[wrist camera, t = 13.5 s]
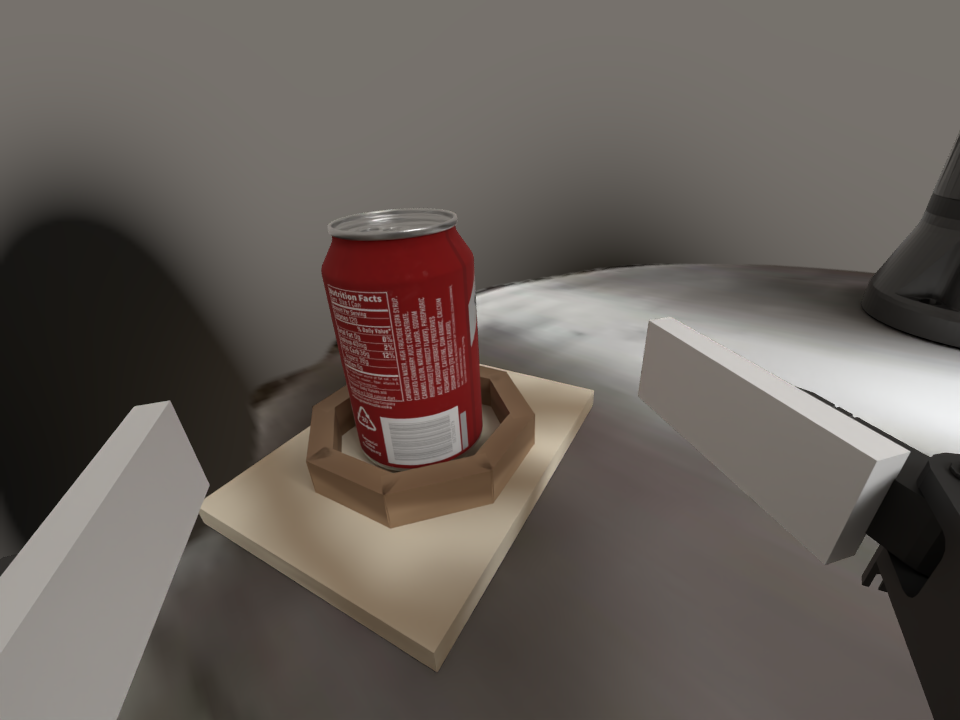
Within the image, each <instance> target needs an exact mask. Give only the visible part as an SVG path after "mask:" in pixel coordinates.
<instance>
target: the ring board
mask: <svg viewBox="0 0 960 720" xmlns="http://www.w3.org/2000/svg"><path fill="white" fill-rule="evenodd" d="M479 366H480V384H481V402H482V420H483V430H482V434H481V437H480V439H479V441H478V442H477V444H476V445H475V446H474V448H473V449H472V450H471V451H470V452H468V453H467V454H466V455H465V456H463V457H462V458H460V459H456V460H452V461H447V462H443V463H438V464H434V465H429V466H424V467H420V468H415V469H411V470H406V471H395V470H390V469H387V468H384V467H381V466H379V465H377V464H375V463H374V462H372V461H371V460H370V459H369V458H368V457H367V456H366V455H365V454H364V452H363V451H362V449H361V445H360V441H359V437H358V433H357V428H356V424H355V419H354V415H353V410H352V406H351V401H350V397H349V393H348V388H347V385H345V386H344V387H342V388H341V389H339V390H338V391H336V392H335V393H333V394H331V395H330V396H328V397H327V398H325V399H324V400H322V401H321V402H319V403H318V404H316V405H315V406H313V410H312V417H311V425H310V426H309V427H308V428H306V429H305V430H304V431H302V432H301V433H299V434H298V435H296V436H295V437H293V438H292V439H291V440H289V441H288V442H286V443H285V444H283V445H282V446H280V447H279V448H277V449H276V450H275V451H273V452H272V453H270V454H269V455H267V456H266V457H264V458H263V459H262V460H260V461H259V462H257V463H256V464H254V465H253V466H251V467H250V468H249V469H247V470H246V471H244V472H243V473H241V474H240V475H238V476H237V477H236V478H234V479H233V480H231V481H230V482H229V483H227V484H225V485H224V486H223V487H221V488H220V489H218V490H217V491H215V492H214V493H212V494H211V495H210V496H208V497H207V498H205V499H204V501H203V503H202V506H201V508H200V511H199V514H200V516H201V518H202V520H203V522H204V523H205V524H206V525H208V526H210V527H211V528H213V529H214V530H216V531H217V532H219V533H220V534H222V535H224V536H225V537H227V538H228V539H230V540H231V541H233V542H234V543H236V544H238V545H239V546H241V547H242V548H244V549H245V550H247V551H249V552H250V553H252V554H253V555H255V556H256V557H258V558H259V559H261V560H263V561H264V562H266V563H267V564H269V565H270V566H272V567H273V568H275V569H277V570H278V571H280V572H281V573H283V574H284V575H286V576H287V577H289V578H291V579H292V580H294V581H295V582H297V583H298V584H300V585H302V586H303V587H305V588H306V589H308V590H309V591H311V592H312V593H314V594H316V595H317V596H319V597H320V598H322V599H323V600H325V601H326V602H328V603H330V604H331V605H333V606H334V607H336V608H337V609H339V610H341V611H342V612H344V613H345V614H347V615H348V616H350V617H351V618H353V619H355V620H356V621H358V622H359V623H361V624H362V625H364V626H365V627H367V628H369V629H370V630H372V631H373V632H375V633H376V634H378V635H379V636H381V637H383V638H384V639H386V640H387V641H389V642H390V643H392V644H394V645H395V646H397V647H398V648H400V649H401V650H403V651H404V652H406V653H408V654H409V655H411V656H412V657H414V658H415V659H417V660H418V661H420V662H422V663H423V664H425V665H426V666H428V667H429V668H431V669H433V670H434V671H436V672H438V670H439V669H440V667H441V665H442V664H443V662H444V660H445V658H446V657H447V655H448V653H449V652H450V650H451V648H452V646H453V645H454V643H455V641H456V640H457V638H458V636H459V634H460V633H461V631H462V629H463V628H464V626H465V624H466V622H467V621H468V619H469V617H470V616H471V614H472V612H473V610H474V609H475V607H476V605H477V604H478V602H479V600H480V598H481V597H482V595H483V593H484V592H485V590H486V588H487V586H488V585H489V583H490V581H491V579H492V578H493V576H494V574H495V573H496V571H497V569H498V567H499V566H500V564H501V562H502V561H503V559H504V557H505V555H506V554H507V552H508V550H509V549H510V547H511V545H512V543H513V542H514V540H515V538H516V537H517V535H518V533H519V531H520V530H521V528H522V526H523V525H524V523H525V521H526V519H527V518H528V516H529V514H530V513H531V511H532V509H533V507H534V506H535V504H536V502H537V500H538V499H539V497H540V495H541V494H542V492H543V490H544V488H545V487H546V485H547V483H548V482H549V480H550V478H551V476H552V475H553V473H554V471H555V470H556V468H557V466H558V464H559V463H560V461H561V459H562V458H563V456H564V454H565V452H566V451H567V449H568V447H569V446H570V444H571V442H572V440H573V439H574V437H575V435H576V434H577V432H578V430H579V428H580V427H581V425H582V423H583V421H584V420H585V418H586V416H587V415H588V413H589V411H590V409H591V408H592V406H593V396H594V390H590V389H586V388H581V387H577V386H573V385H568V384H564V383H560V382H555V381H551V380H547V379H543V378H538V377H534V376H530V375H525V374H521V373H517V372H512V371H508V370H504V369H499V368H495V367H491V366H486V365H482V364H479Z"/></svg>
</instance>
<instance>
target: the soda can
mask: <svg viewBox="0 0 960 720" xmlns="http://www.w3.org/2000/svg"><path fill="white" fill-rule="evenodd" d="M456 224H457V215H456V214H455V213H453V212H450V211H447V210H440V209H425V208H418V209H417V208H413V209H412V208H411V209H392V210H382V211H373V212H366V213H360V214H355V215H351V216H347V217H343V218H339V219H336V220H334V221H332V222H330V223H329V224H328V231H329V234H330V235H331V236H332V243H331V246H330V248H329V250H328V253H327V255H326V258H325V260H324V262H323V265H322V270H321V271H322V277H323V281H324V286H325V290H326V294H327V299H328V303H329V308H330V312H331V317H332V321H333V326H334V330H335V335H336V339H337V344H338V348H339V353H340V357H341V361H342V366H343V370H344V375H345V379H346V384H347V388H348V393H349V397H350V401H351V406H352V410H353V415H354V419H355V424H356V428H357V433H358V437H359V441H360V445H361V449H362V451H363V452H364V454H365V455H366V456H367V457H368V458H369V459H370V460H371V461H372V462H374V463H375V464H377V465H379V466H381V467H384V468H387V469H390V470H395V471H406V470H411V469H415V468H420V467H424V466H429V465H434V464H438V463H443V462H447V461H452V460H456V459H460V458H462V457H463V456H465V455H466V454H467V453H468V452H470V451H471V450H472V449H473V448H474V446H475V445H476V444H477V442H478V441H479V439H480V437H481V434H482V430H483V420H482V402H481V384H480V366H479V347H478V329H477V311H476V293H475V274H474V257H473V254H472V252H471V250H470V249H469V247H468V246H467V245H466V243H465V242H464V240H463V239H462V238H461V236H460V235H459V233H458V232H457V230H456V227H455V225H456Z"/></svg>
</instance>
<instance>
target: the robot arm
mask: <svg viewBox="0 0 960 720" xmlns="http://www.w3.org/2000/svg"><path fill="white" fill-rule="evenodd" d="M861 305H862V308H863V309H864V310H865V311H866V312H867V313H868V314H869V315H871V316H872V317H874V318H875V319H877V320H879V321H881V322H883V323H885V324H887V325H889V326H892V327H894V328H896V329H899V330H902V331H904V332H907V333H910V334H913V335H916V336H919V337H922V338H926V339H929V340H932V341H936V342H940V343H944V344H947V345H952V346H956V347H960V131H959V133H958V135H957V138H956V140H955V142H954V145H953V147H952V149H951V152H950V154H949V156H948V159H947V161H946V163H945V165H944V168H943V170H942V173H941V175H940V177H939V179H938V182H937V184H936V186H935V189H934V191H933V194H932V196H931V199H930V201H929V203H928V206H927V208H926V210H925V212H924V215H923V217H922V219H921V220H920V222H919V224H918V225H917V226H916V227H915V228H914V229H913V231H912V232H911V233H910V234H909V235H908V236H907V237H906V239H905V240H904V241H903V242H902V243H901V244H900V246H899V247H898V248H897V249H896V250H895V251H894V253H893V254H892V255H891V256H890V257H889V258H888V259H887V261H886V262H885V263H884V264H883V266H882V267H881V268H880V269H879V270H878V271H877V272H876V273H875V275H874V276H873V277H872V278H871V280H870V281H869V283H868V286H867V288H866V291H865V293H864V296H863V299H862V301H861ZM638 397H639V398H640V399H642V400H643V401H644V402H645V403H646V404H647V405H648V406H649V407H650V408H652V409H653V410H654V411H655V412H656V413H657V414H658V415H659V416H660V417H662V418H663V419H664V420H665V421H666V422H667V423H668V424H669V425H670V426H672V427H673V428H674V429H675V430H676V431H677V432H678V433H679V434H680V435H681V436H683V437H684V438H685V439H686V440H687V441H688V442H689V443H690V444H691V445H693V446H694V447H695V448H696V449H697V450H698V451H699V452H700V453H701V454H703V455H704V456H705V457H706V458H707V459H708V460H709V461H710V462H711V463H713V464H714V465H715V466H716V467H717V468H718V469H719V470H720V471H721V472H723V473H724V474H725V475H726V476H727V477H728V478H729V479H730V480H731V481H733V482H734V483H735V484H736V485H737V486H738V487H739V488H740V489H741V490H742V491H744V492H745V493H746V494H747V495H748V496H749V497H750V498H751V499H752V500H754V501H755V502H756V503H757V504H758V505H759V506H760V507H761V508H762V509H764V510H765V511H766V512H767V513H768V514H769V515H770V516H771V517H772V518H774V519H775V520H776V521H777V522H778V523H779V524H780V525H781V526H782V527H784V528H785V529H786V530H787V531H788V532H789V533H790V534H791V535H792V536H794V537H795V538H796V539H797V540H798V541H799V542H800V543H801V544H802V545H803V546H805V547H806V548H807V549H808V550H809V551H810V552H811V553H812V554H813V555H815V556H816V557H817V558H818V559H819V560H820V561H821V562H822V563H823V564H825V565H826V564H829V563H832V562H835V561H838V560H841V559H844V558H848V557H851V556H854V555H855V553H856V552H857V550H858V548H859V546H860V544H861V542H862V540H863V539H864V537H865V535H866V534H867V535H869V536H870V537H871V538H872V539H874V540H875V541H876V542H878V543H879V544H880V545H879V547H878V549H877V550H876V552H875V554H874V556H873V557H872V559H871V561H870V563H869V564H868V566H867V568H866V570H865V571H864V573H863V575H862V585H864V586H867V587H869V586H870V584H871V582H872V581H873V579H874V577H875V576H876V574H881V576H882V578H883V581H882V582H881V584H880V586H879V588H878V589H879V590H881V591H884V592H888V595H889V598H890V600H891V603H892V606H893V608H894V611H895V614H896V617H897V619H898V622H899V625H900V628H901V630H902V633H903V636H904V638H905V641H906V644H907V647H908V649H909V652H910V655H911V658H912V660H913V663H914V666H915V668H916V671H917V674H918V677H919V679H920V682H921V685H922V688H923V690H924V693H925V696H926V698H927V701H928V704H929V707H930V709H931V712H932V715H933V718H934V720H960V454H952V453H941V454H935V455H933V456H932V457H929V456H927V455H925V454H923V453H921V452H919V451H918V450H916V449H914V448H912V447H910V446H909V445H907V444H905V443H903V442H901V441H900V440H898V439H896V438H894V437H892V436H891V435H889V434H887V433H885V432H883V431H881V430H880V429H878V428H876V427H874V426H872V425H871V424H869V423H867V422H865V421H863V420H862V419H860V418H858V417H856V418H854V417H853V414H851V413H849V412H847V411H845V410H844V409H842V408H840V407H837V408H836V407H835V404H833V403H831V402H829V401H827V400H826V399H824V398H822V397H820V396H818V395H817V394H815V393H813V392H810V391H807V390H804V389H801V388H799V387H796V386H793V385H791V384H790V383H788V382H786V381H784V380H783V379H781V378H779V377H777V376H775V375H774V374H772V373H770V372H768V371H767V370H765V369H763V368H761V367H760V366H758V365H756V364H754V363H752V362H751V361H749V360H747V359H745V358H744V357H742V356H740V355H738V354H736V353H735V352H733V351H731V350H729V349H728V348H726V347H724V346H722V345H720V344H719V343H717V342H715V341H713V340H712V339H710V338H708V337H706V336H704V335H703V334H701V333H699V332H697V331H696V330H694V329H692V328H690V327H688V326H687V325H685V324H683V323H681V322H680V321H678V320H676V319H674V318H672V317H666V318H660V319H654V320H649V323H648V330H647V337H646V344H645V351H644V358H643V364H642V371H641V378H640V385H639V392H638ZM208 488H209V483H208V481H207V478H206V476H205V474H204V472H203V470H202V468H201V466H200V464H199V461H198V459H197V457H196V455H195V453H194V451H193V448H192V446H191V444H190V442H189V440H188V438H187V436H186V434H185V432H184V429H183V427H182V425H181V423H180V421H179V419H178V416H177V414H176V412H175V410H174V408H173V406H172V404H171V402H170V401H164V402H159V403H152V404H147V405H140V406H135V407H134V408H133V409H132V410H131V411H130V413H129V414H128V415H127V417H126V418H125V419H124V420H123V422H122V423H121V424H120V425H119V427H118V428H117V429H116V431H115V432H114V433H113V434H112V436H111V437H110V438H109V439H108V441H107V442H106V443H105V444H104V446H103V447H102V448H101V449H100V451H99V452H98V453H97V455H96V456H95V457H94V458H93V460H92V461H91V462H90V464H89V465H88V466H87V467H86V468H85V470H84V471H83V472H82V474H81V475H80V476H79V477H78V479H77V480H76V482H74V484H73V485H72V486H71V488H70V489H69V490H68V491H67V493H66V494H65V495H64V496H63V498H62V499H61V500H60V502H59V503H58V504H57V505H56V507H55V508H54V509H53V511H52V512H51V513H50V514H49V516H48V517H47V518H46V519H45V521H44V522H43V523H42V524H41V526H40V527H39V528H38V529H37V531H36V532H35V533H34V535H33V536H32V537H31V538H30V540H29V541H28V542H27V544H26V545H25V546H24V547H23V549H22V550H21V551H20V552H19V554H16V555H11V556H7V557H3V558H2V559H0V720H117V718H118V715H119V713H120V710H121V708H122V705H123V703H124V700H125V698H126V695H127V693H128V690H129V688H130V685H131V683H132V680H133V678H134V675H135V672H136V670H137V667H138V665H139V662H140V660H141V657H142V655H143V652H144V650H145V647H146V645H147V642H148V640H149V637H150V635H151V632H152V629H153V627H154V624H155V622H156V619H157V617H158V614H159V612H160V609H161V607H162V604H163V602H164V599H165V597H166V594H167V592H168V589H169V587H170V584H171V581H172V579H173V576H174V574H175V571H176V569H177V566H178V564H179V561H180V559H181V556H182V554H183V551H184V549H185V546H186V544H187V541H188V538H189V536H190V533H191V531H192V528H193V526H194V523H195V521H196V518H197V516H198V513H199V511H200V508H201V506H202V503H203V501H204V498H205V495H206V493H207V490H208Z"/></svg>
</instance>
